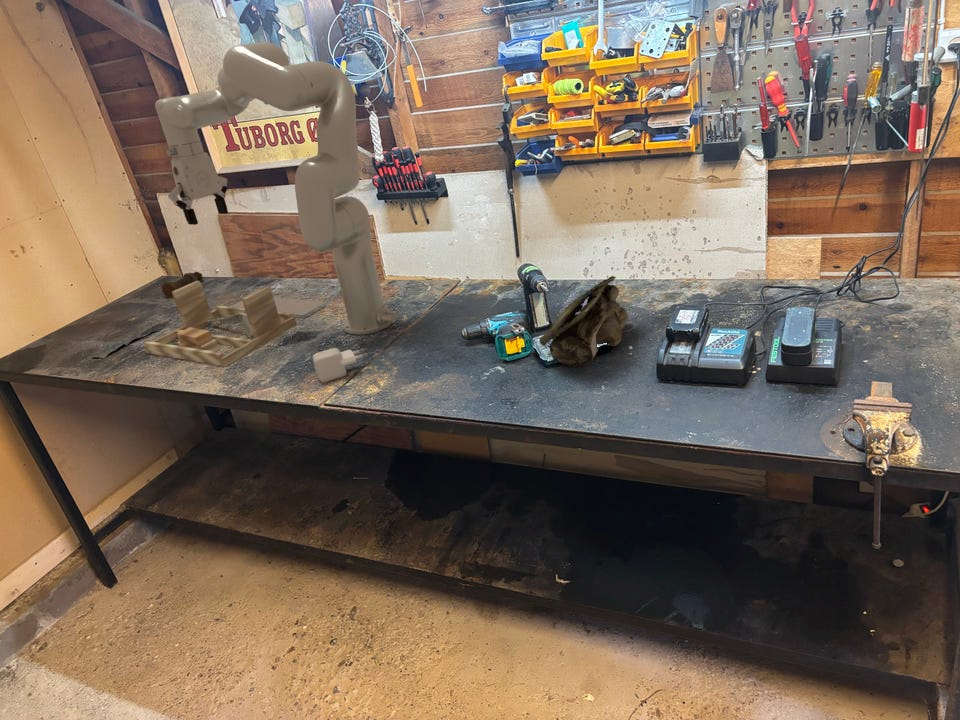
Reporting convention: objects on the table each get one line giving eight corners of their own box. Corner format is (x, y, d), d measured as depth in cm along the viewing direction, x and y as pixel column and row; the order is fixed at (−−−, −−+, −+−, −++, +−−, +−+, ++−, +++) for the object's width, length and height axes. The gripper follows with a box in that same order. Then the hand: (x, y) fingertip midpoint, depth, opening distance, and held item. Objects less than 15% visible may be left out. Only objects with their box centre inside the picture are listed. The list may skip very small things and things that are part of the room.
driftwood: (102, 362, 163) (99, 354, 162) (86, 359, 166) (82, 352, 165) (168, 329, 179) (165, 322, 178) (152, 327, 182) (149, 320, 181)
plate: (326, 305, 176) (325, 301, 176) (304, 318, 169) (303, 315, 169) (253, 298, 190) (252, 295, 190) (230, 310, 183) (229, 307, 183)
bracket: (252, 334, 159) (231, 299, 158) (222, 355, 174) (202, 323, 173) (263, 329, 161) (242, 294, 160) (232, 350, 177) (213, 318, 175)
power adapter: (366, 361, 141) (360, 337, 138) (372, 369, 137) (366, 345, 134) (317, 376, 137) (310, 352, 135) (321, 385, 133) (314, 361, 131)
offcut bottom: (220, 350, 159) (216, 339, 157) (207, 357, 156) (203, 347, 154) (194, 346, 164) (190, 335, 162) (181, 353, 161) (177, 342, 159)
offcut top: (212, 340, 157) (209, 330, 156) (199, 346, 155) (195, 337, 153) (193, 336, 162) (190, 327, 161) (179, 342, 159) (176, 333, 158)
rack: (296, 324, 167) (284, 280, 161) (225, 366, 149) (208, 319, 143) (219, 315, 181) (205, 275, 176) (146, 352, 163) (128, 309, 158)
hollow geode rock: (566, 401, 123) (614, 360, 113) (518, 355, 124) (562, 310, 114) (616, 336, 144) (662, 296, 133) (576, 297, 144) (617, 253, 134)
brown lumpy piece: (204, 285, 215) (174, 302, 202) (191, 279, 215) (160, 294, 203) (207, 271, 212) (176, 286, 199) (194, 264, 212) (162, 279, 200)
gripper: (166, 158, 149) (190, 229, 157) (224, 143, 162) (244, 209, 170) (146, 158, 153) (171, 228, 161) (205, 144, 166) (225, 209, 174)
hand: (208, 218), depth 166 cm, fingers open, 9 cm apart
